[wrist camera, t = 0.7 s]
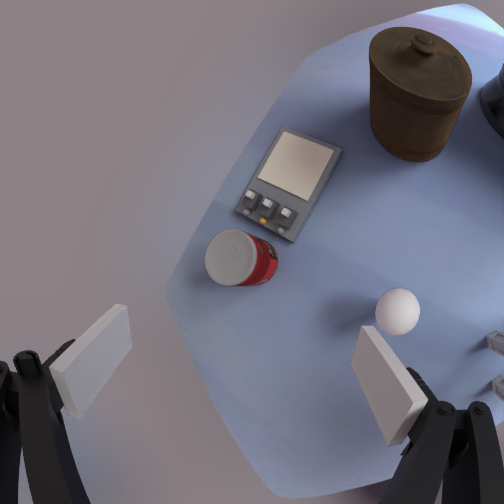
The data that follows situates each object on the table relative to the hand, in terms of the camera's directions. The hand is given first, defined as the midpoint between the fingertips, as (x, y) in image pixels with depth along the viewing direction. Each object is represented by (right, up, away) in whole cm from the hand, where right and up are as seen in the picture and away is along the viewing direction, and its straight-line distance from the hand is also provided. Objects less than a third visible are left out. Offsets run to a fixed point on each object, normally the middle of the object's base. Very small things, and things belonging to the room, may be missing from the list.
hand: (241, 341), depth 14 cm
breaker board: (+7, +17, +32) cm, 37 cm away
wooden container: (+29, +27, +25) cm, 47 cm away
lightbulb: (+22, -4, +24) cm, 33 cm away
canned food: (+2, +3, +33) cm, 34 cm away
